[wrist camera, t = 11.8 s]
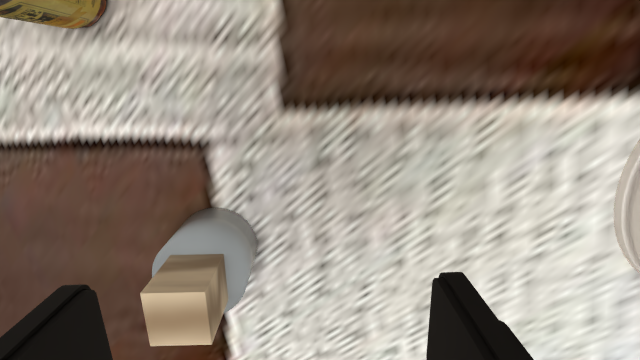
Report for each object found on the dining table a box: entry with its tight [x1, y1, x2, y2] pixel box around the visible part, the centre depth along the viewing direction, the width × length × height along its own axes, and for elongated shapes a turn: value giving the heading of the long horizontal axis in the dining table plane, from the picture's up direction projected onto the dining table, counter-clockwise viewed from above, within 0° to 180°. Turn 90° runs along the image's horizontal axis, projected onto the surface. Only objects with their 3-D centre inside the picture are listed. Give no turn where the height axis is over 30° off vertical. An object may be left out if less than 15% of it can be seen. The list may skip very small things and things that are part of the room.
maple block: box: [140, 254, 228, 346], centre depth 31 cm, size 5×5×6 cm
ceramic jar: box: [152, 208, 257, 313], centre depth 37 cm, size 9×9×7 cm
